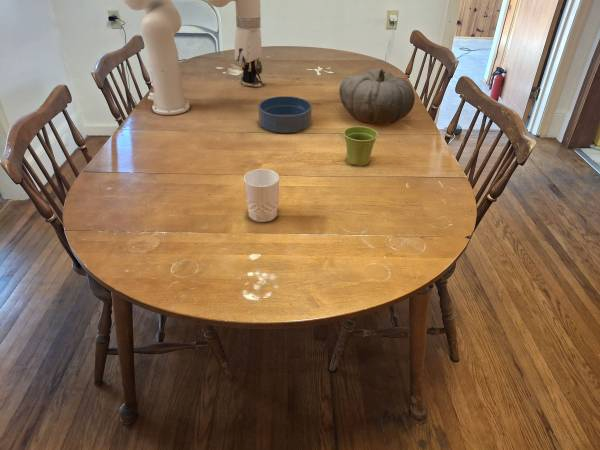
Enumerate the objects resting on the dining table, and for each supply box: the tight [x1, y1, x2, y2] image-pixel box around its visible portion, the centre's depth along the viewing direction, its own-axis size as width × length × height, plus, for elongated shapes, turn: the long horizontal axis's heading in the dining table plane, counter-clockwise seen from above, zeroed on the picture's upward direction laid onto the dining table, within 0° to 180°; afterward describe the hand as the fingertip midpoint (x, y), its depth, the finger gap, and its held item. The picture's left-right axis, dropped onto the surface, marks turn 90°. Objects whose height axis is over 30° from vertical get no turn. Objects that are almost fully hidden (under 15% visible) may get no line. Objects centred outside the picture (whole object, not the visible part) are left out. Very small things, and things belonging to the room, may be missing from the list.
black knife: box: [225, 75, 258, 84], centre depth 154 cm, size 11×2×2 cm, turn 66°
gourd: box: [338, 68, 416, 126], centre depth 152 cm, size 25×25×17 cm
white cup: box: [243, 168, 280, 223], centre depth 106 cm, size 8×8×10 cm
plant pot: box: [342, 125, 379, 167], centre depth 128 cm, size 9×9×9 cm
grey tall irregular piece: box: [240, 58, 266, 88], centre depth 175 cm, size 8×11×20 cm
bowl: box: [257, 95, 313, 134], centre depth 150 cm, size 17×17×6 cm
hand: (249, 81), depth 153 cm, fingers closed on black knife, 1 cm apart
